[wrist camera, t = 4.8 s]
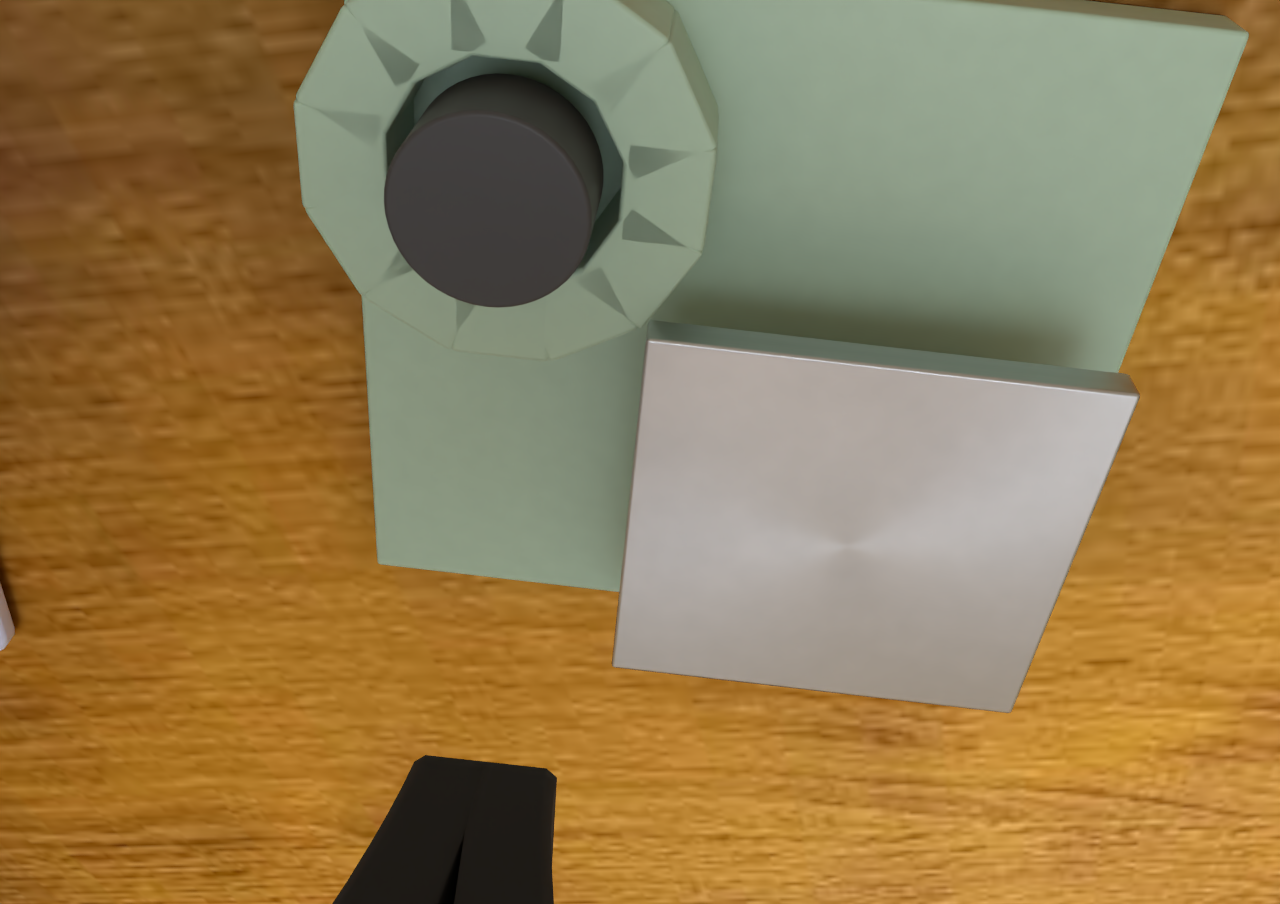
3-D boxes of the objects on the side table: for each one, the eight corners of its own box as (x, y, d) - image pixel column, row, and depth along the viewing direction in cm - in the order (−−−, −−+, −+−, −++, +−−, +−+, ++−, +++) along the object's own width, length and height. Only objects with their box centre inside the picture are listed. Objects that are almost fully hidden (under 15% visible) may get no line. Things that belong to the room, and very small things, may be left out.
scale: (375, 533, 22) (338, 623, 20) (338, -104, 15) (276, -68, 13) (1006, 606, 22) (1034, 704, 20) (1235, -4, 15) (1312, 46, 13)
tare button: (414, 247, 16) (386, 297, 15) (408, 60, 14) (377, 98, 13) (597, 268, 16) (585, 320, 15) (611, 83, 14) (598, 124, 13)
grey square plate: (614, 643, 20) (611, 668, 19) (649, 318, 16) (645, 338, 15) (1004, 688, 20) (1011, 714, 19) (1130, 372, 16) (1141, 395, 15)
